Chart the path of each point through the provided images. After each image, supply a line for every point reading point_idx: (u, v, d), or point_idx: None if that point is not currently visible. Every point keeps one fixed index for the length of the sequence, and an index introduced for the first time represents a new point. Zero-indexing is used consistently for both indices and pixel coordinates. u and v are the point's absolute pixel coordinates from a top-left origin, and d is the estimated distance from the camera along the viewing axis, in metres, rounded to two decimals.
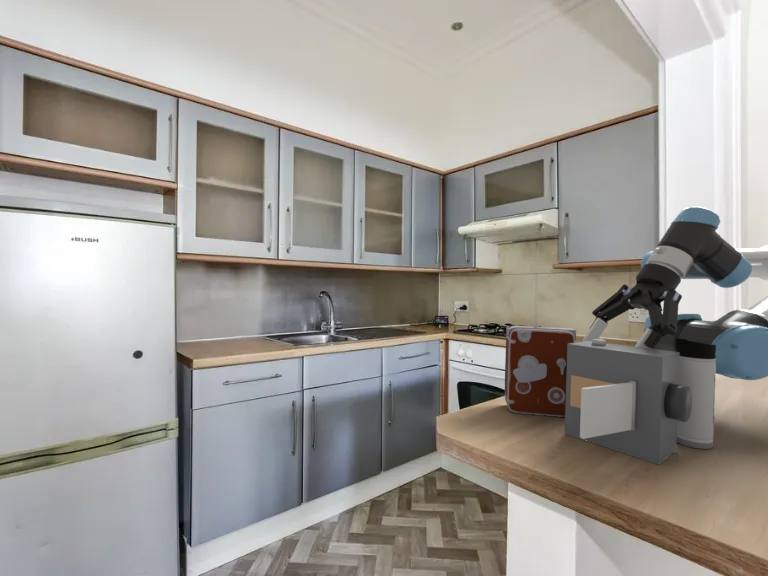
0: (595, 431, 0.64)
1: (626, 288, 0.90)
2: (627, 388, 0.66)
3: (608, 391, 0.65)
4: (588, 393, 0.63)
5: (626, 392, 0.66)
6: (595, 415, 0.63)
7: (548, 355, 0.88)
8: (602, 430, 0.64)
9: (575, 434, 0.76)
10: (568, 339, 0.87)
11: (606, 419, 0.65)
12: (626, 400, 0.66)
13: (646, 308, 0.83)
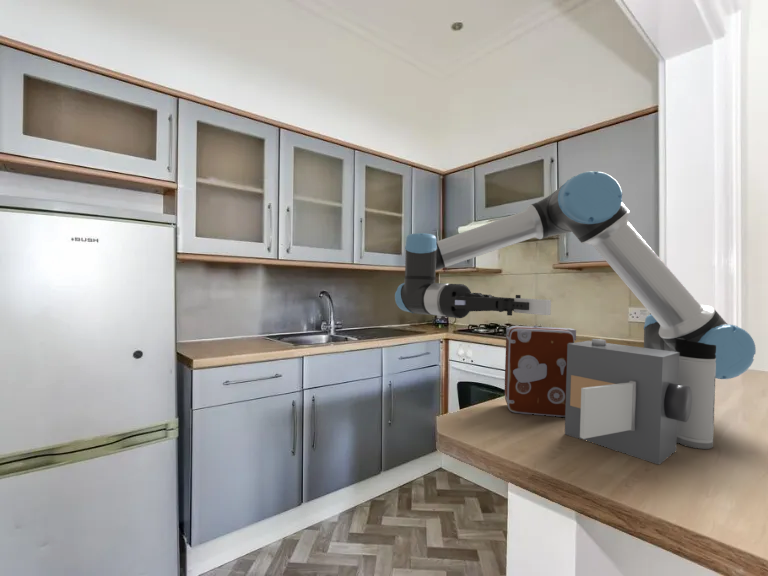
0: (595, 431, 0.64)
1: None
2: (627, 388, 0.66)
3: (608, 391, 0.65)
4: (588, 393, 0.63)
5: (626, 392, 0.66)
6: (595, 415, 0.63)
7: (548, 355, 0.88)
8: (602, 430, 0.64)
9: (575, 434, 0.76)
10: (568, 339, 0.87)
11: (606, 419, 0.65)
12: (626, 400, 0.66)
13: None
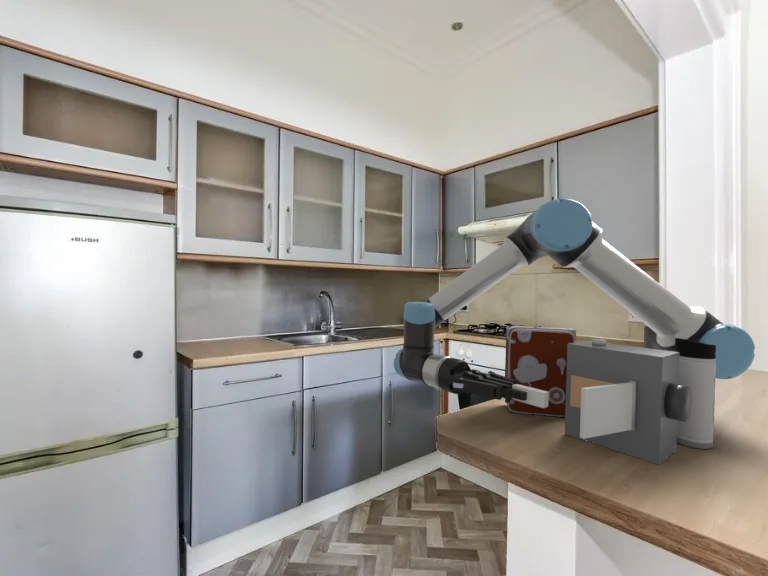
0: (595, 431, 0.64)
1: None
2: (627, 388, 0.66)
3: (608, 391, 0.65)
4: (588, 393, 0.63)
5: (626, 392, 0.66)
6: (595, 415, 0.63)
7: (548, 355, 0.88)
8: (602, 430, 0.64)
9: (575, 434, 0.76)
10: (568, 339, 0.87)
11: (606, 419, 0.65)
12: (626, 400, 0.66)
13: None
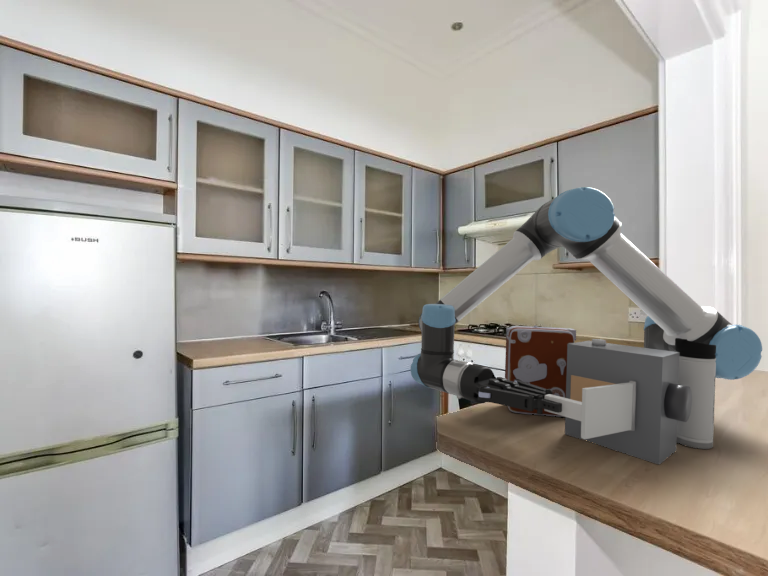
0: (596, 431, 0.63)
1: None
2: (627, 388, 0.66)
3: (609, 391, 0.64)
4: (589, 393, 0.62)
5: (626, 392, 0.66)
6: (596, 415, 0.63)
7: (548, 355, 0.88)
8: (603, 430, 0.64)
9: (575, 434, 0.76)
10: (568, 339, 0.87)
11: (607, 420, 0.64)
12: (626, 400, 0.66)
13: None
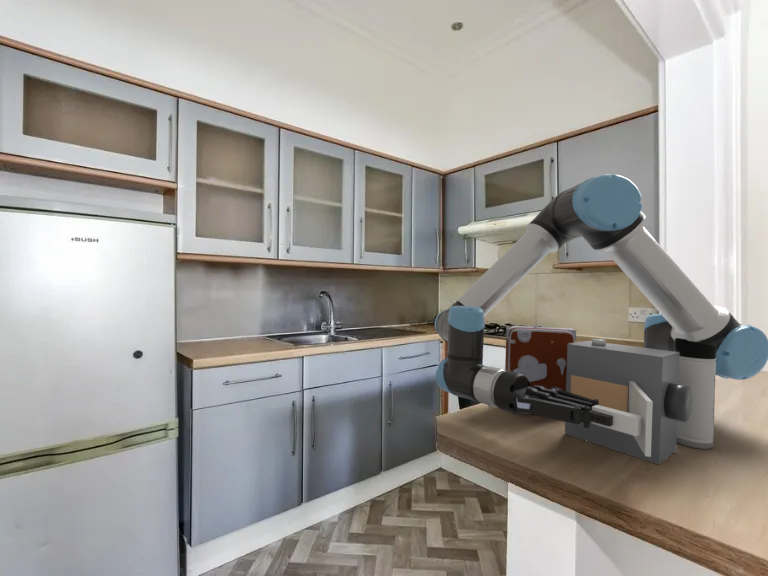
0: None
1: None
2: None
3: None
4: None
5: None
6: None
7: (548, 355, 0.88)
8: None
9: (575, 434, 0.76)
10: (568, 339, 0.87)
11: None
12: None
13: None
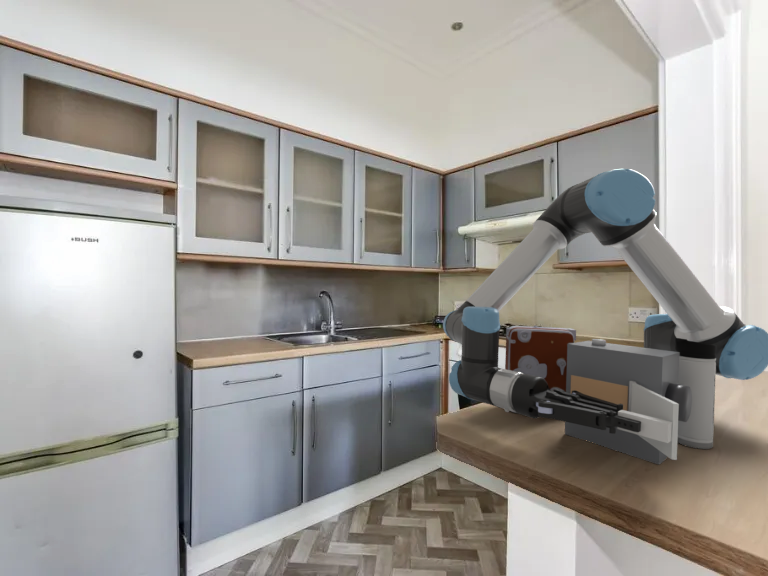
0: None
1: None
2: None
3: None
4: None
5: None
6: None
7: (548, 355, 0.88)
8: None
9: (575, 434, 0.76)
10: (568, 339, 0.87)
11: None
12: None
13: None
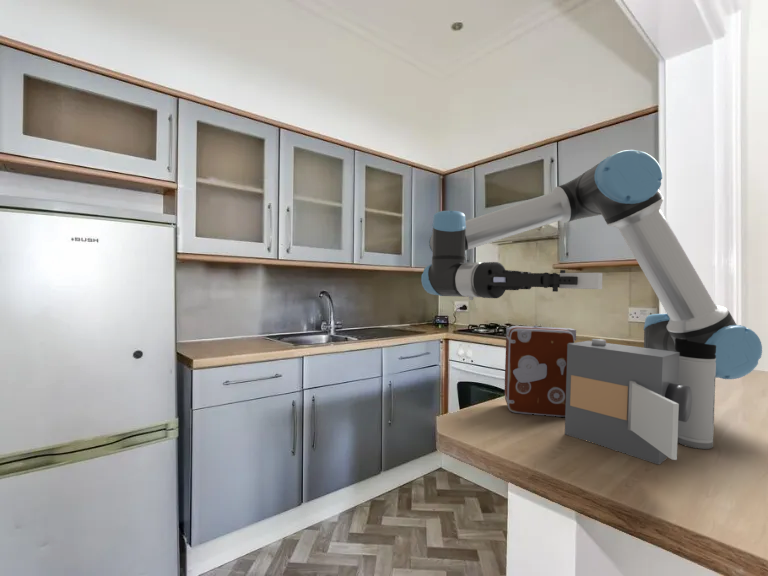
0: None
1: None
2: None
3: None
4: None
5: None
6: None
7: (548, 355, 0.88)
8: None
9: (575, 434, 0.76)
10: (568, 339, 0.87)
11: None
12: None
13: None
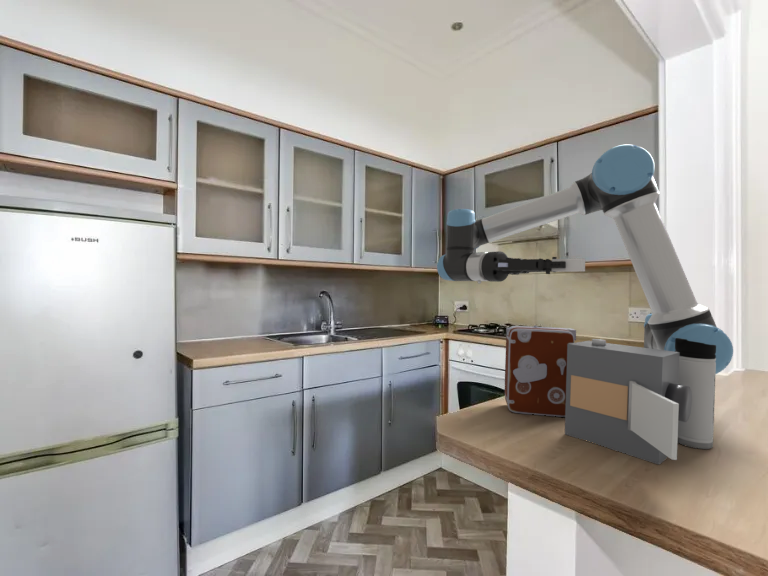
0: None
1: None
2: None
3: None
4: None
5: None
6: None
7: (548, 355, 0.88)
8: None
9: (575, 434, 0.76)
10: (568, 339, 0.87)
11: None
12: None
13: None
